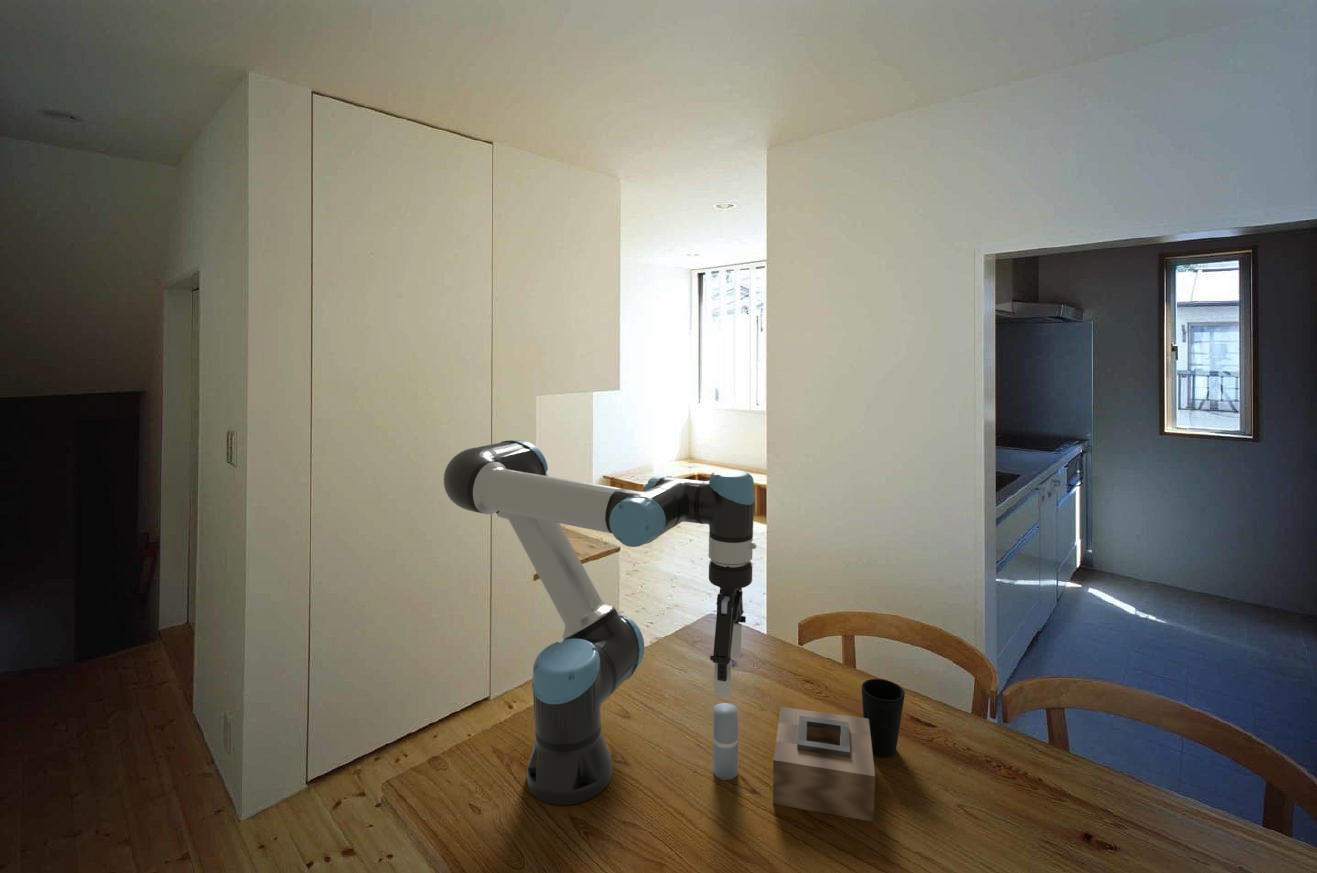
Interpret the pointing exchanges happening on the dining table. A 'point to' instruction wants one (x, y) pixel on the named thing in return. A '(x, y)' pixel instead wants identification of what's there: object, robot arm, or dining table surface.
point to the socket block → (824, 764)
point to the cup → (883, 714)
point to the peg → (725, 741)
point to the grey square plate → (823, 741)
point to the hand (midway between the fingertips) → (728, 675)
